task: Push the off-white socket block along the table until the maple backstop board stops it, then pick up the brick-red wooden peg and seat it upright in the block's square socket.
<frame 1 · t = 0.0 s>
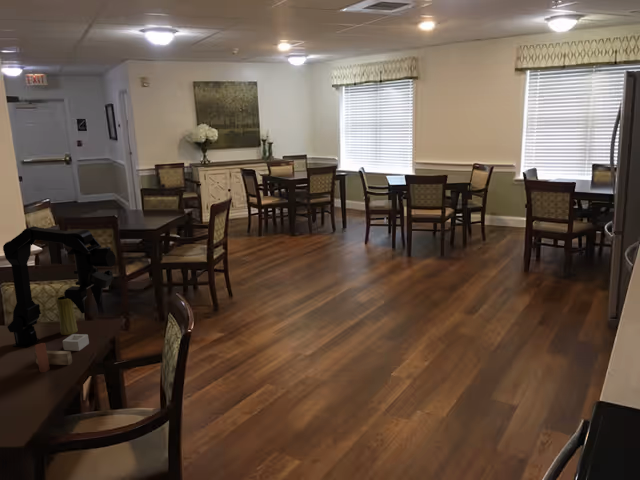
hand: (91, 308, 182), 15 cm above the table, tool pointing down, fingers open, 9 cm apart
socket block: (75, 342, 186), point 2 cm above the table, slide at 0.0 cm
backstop: (54, 362, 174), on the table
olive ribbed cylinder: (69, 332, 199), on the table
peg: (44, 370, 169), on the table
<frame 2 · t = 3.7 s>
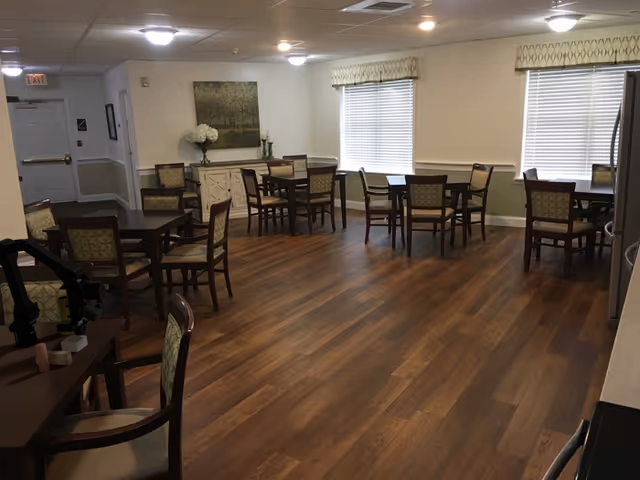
hand: (82, 339, 189), 1 cm above the table, tool pointing down, fingers closed
socket block: (74, 343, 185), point 2 cm above the table, slide at 0.9 cm, touching gripper
everything else where it was.
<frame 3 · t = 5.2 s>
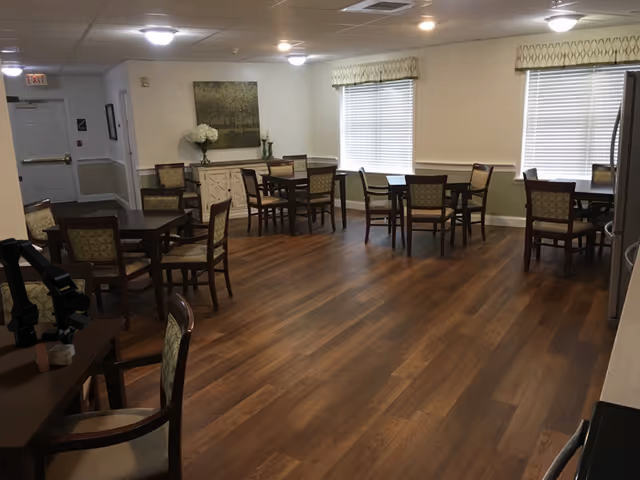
hand: (69, 349, 182), 1 cm above the table, tool pointing down, fingers closed
socket block: (61, 352, 178), point 2 cm above the table, slide at 8.5 cm, touching backstop, gripper
everything else where it was.
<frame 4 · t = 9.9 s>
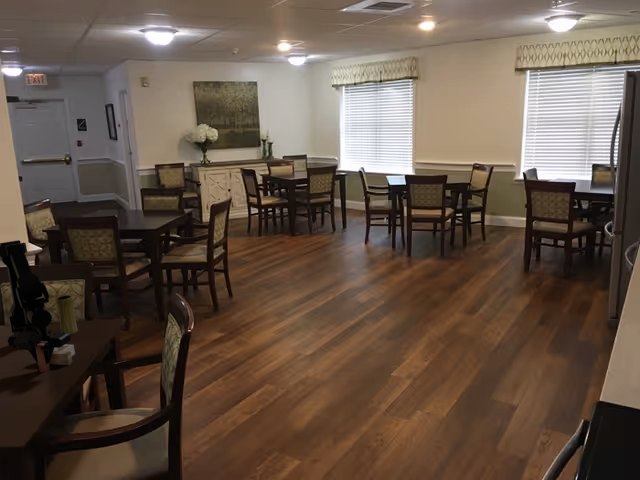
hand: (43, 363, 169), 3 cm above the table, tool pointing down, fingers closed on peg, 3 cm apart
socket block: (61, 352, 178), point 2 cm above the table, slide at 8.5 cm
peg: (44, 370, 169), on the table, touching gripper
everything else where it was.
when the fingers open (5 cm above the table, at t = 13.5 s): peg drops 2 cm, resting on socket block.
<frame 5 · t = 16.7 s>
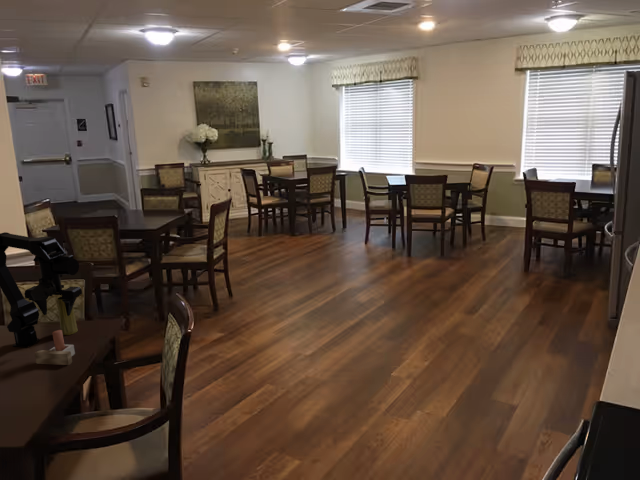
hand: (57, 315, 183), 13 cm above the table, tool pointing down, fingers open, 9 cm apart
socket block: (61, 352, 178), point 2 cm above the table, slide at 8.5 cm, touching peg
peg: (61, 355, 178), point 1 cm above the table, touching socket block
everything else where it was.
at the end: socket block slide at 8.5 cm; peg 0.1 cm off-centre on the socket block, point 0.6 cm above the socket block's base; peg tilted 2° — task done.
